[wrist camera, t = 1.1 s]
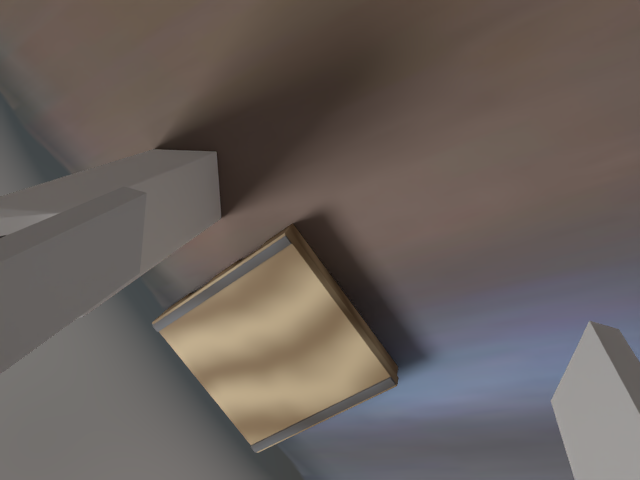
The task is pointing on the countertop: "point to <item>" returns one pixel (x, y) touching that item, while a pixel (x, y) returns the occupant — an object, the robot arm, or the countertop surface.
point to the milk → (140, 174)
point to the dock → (278, 342)
